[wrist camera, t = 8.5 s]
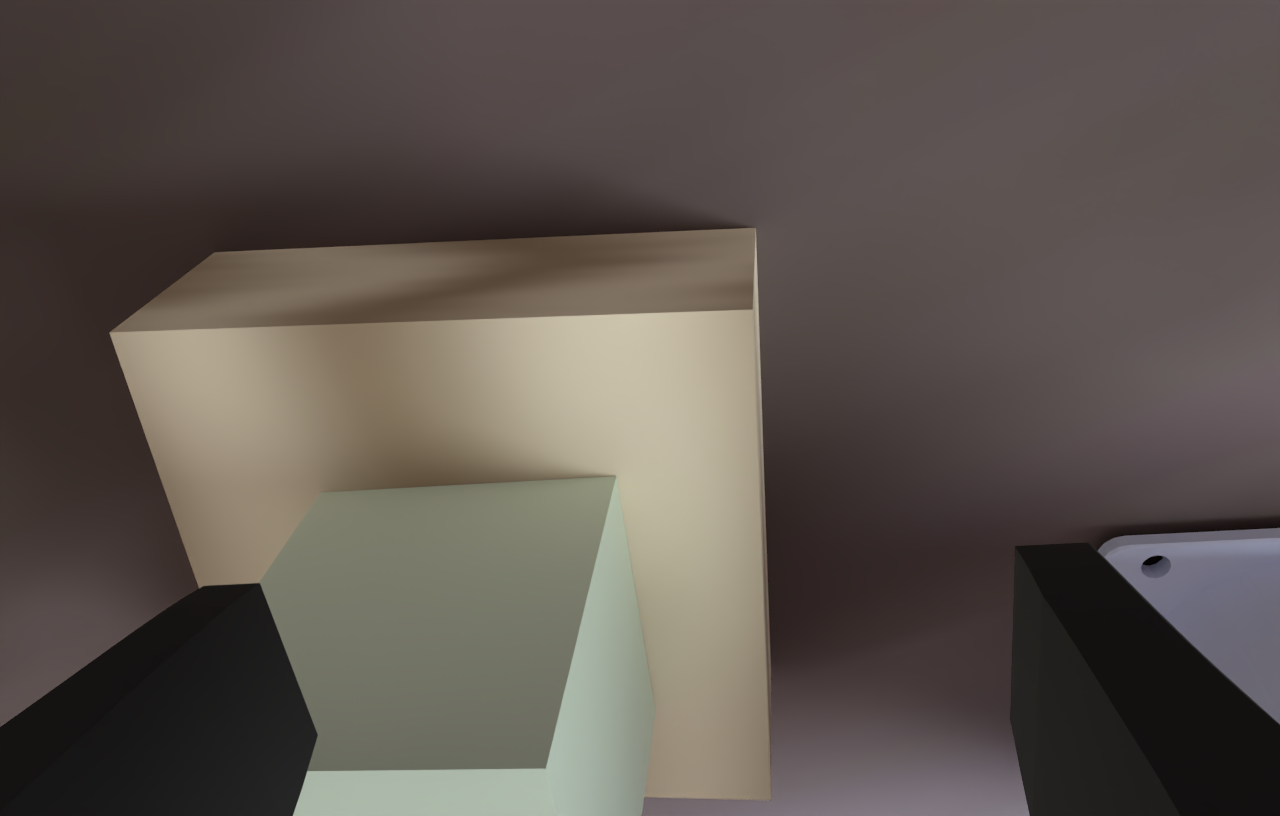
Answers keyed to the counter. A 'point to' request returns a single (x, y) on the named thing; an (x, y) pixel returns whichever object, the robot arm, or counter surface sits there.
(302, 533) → the sage block
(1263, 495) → the counter surface
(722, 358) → the birch base
